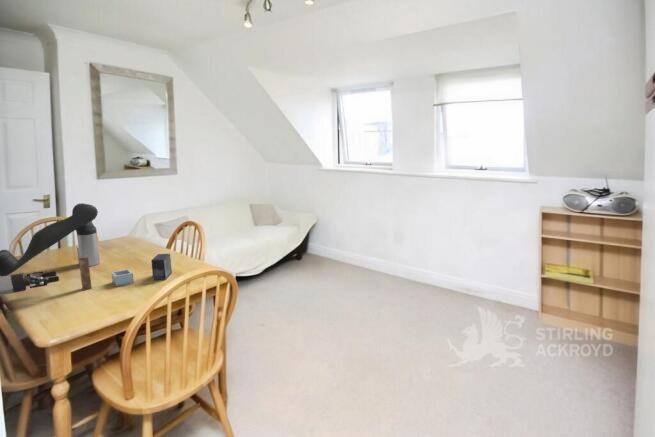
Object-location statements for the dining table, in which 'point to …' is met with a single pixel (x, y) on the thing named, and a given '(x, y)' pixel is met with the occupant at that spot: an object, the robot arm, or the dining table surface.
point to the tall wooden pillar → (85, 272)
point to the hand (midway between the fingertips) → (57, 275)
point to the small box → (161, 266)
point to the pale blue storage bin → (122, 277)
